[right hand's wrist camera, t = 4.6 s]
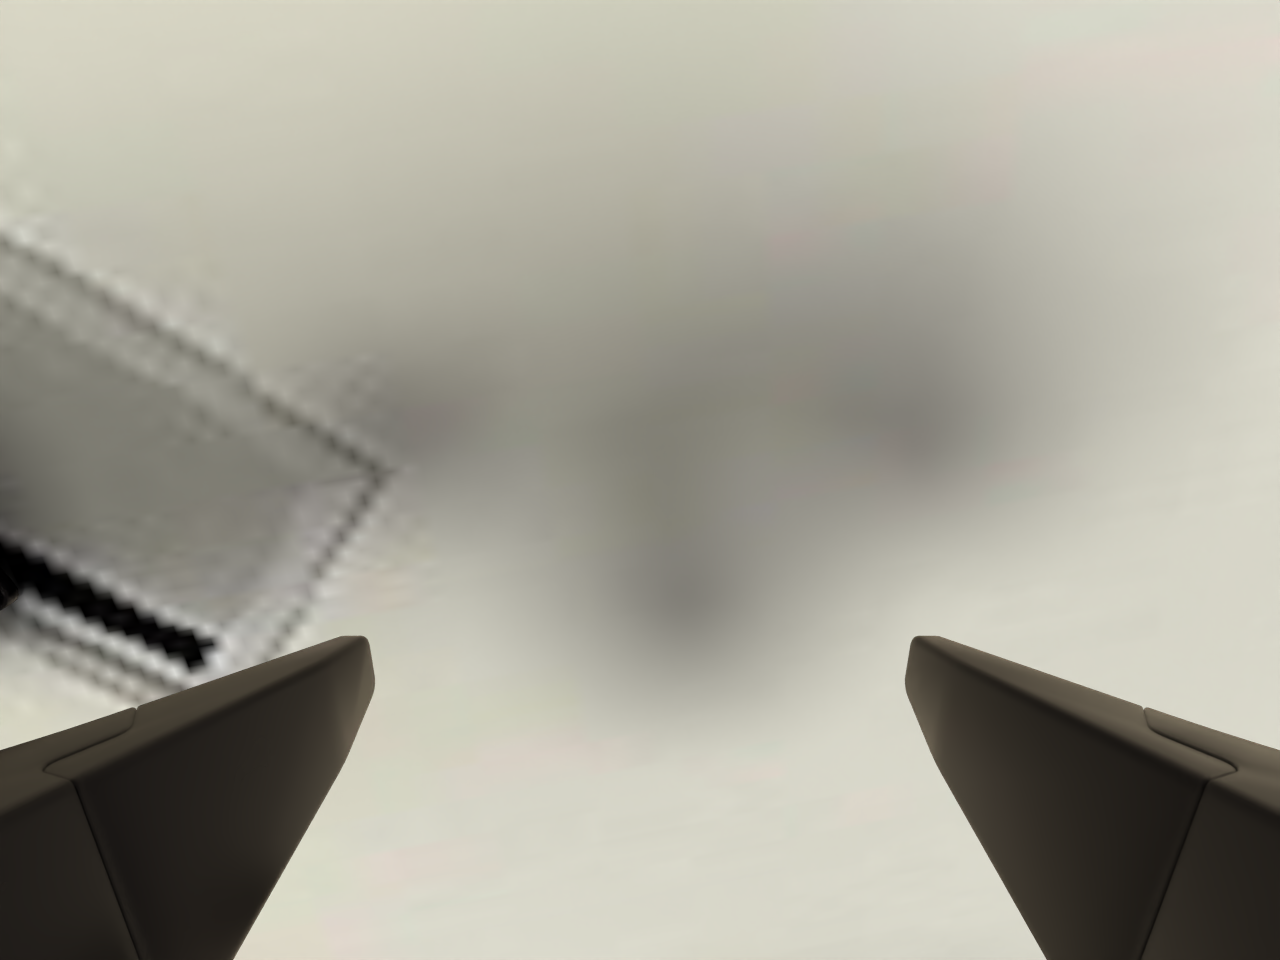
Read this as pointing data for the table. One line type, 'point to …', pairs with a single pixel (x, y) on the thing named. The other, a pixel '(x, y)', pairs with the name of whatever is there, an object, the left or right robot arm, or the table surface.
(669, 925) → the table surface
